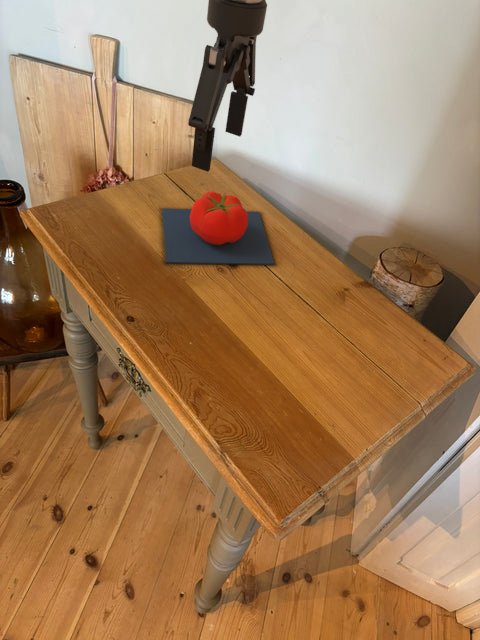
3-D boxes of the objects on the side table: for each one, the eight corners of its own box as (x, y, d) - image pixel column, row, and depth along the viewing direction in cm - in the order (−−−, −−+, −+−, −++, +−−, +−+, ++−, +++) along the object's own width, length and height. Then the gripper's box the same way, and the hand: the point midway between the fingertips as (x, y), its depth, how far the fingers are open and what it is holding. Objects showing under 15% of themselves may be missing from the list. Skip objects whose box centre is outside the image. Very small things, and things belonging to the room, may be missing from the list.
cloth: (165, 263, 82) (166, 261, 82) (162, 209, 92) (162, 208, 92) (274, 264, 86) (274, 263, 86) (258, 213, 97) (259, 211, 96)
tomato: (253, 247, 88) (260, 214, 83) (200, 256, 84) (204, 222, 78) (231, 214, 94) (236, 181, 89) (180, 221, 90) (182, 188, 84)
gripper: (230, 23, 50) (208, 193, 65) (293, -15, 66) (264, 127, 82) (167, 4, 51) (160, 176, 66) (245, -29, 67) (225, 114, 83)
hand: (218, 149), depth 74 cm, fingers open, 13 cm apart
